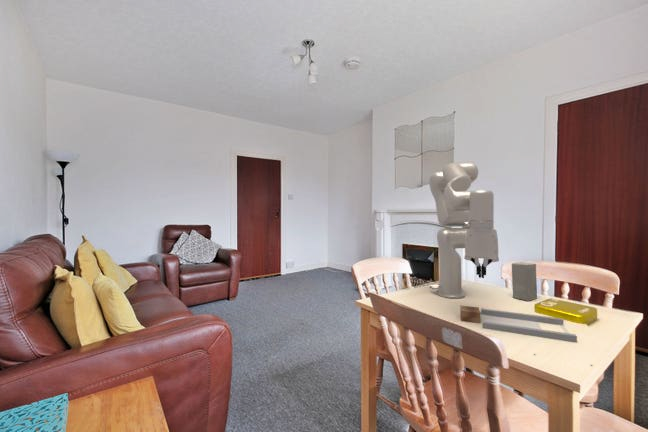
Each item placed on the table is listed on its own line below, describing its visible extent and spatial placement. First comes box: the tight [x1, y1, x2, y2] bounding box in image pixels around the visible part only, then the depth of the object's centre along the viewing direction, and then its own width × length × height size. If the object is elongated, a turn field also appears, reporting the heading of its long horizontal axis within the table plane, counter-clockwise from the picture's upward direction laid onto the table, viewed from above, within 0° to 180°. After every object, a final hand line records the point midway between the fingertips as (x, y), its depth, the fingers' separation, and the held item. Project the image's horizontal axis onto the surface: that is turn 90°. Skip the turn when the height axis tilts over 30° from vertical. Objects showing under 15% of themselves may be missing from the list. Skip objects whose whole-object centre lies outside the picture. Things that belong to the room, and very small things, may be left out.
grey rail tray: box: [480, 307, 578, 343], centre depth 95 cm, size 24×15×3 cm, turn 63°
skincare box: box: [511, 261, 538, 302], centre depth 127 cm, size 8×7×16 cm
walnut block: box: [459, 305, 482, 325], centre depth 101 cm, size 6×6×5 cm
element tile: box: [534, 297, 598, 327], centre depth 105 cm, size 15×15×5 cm
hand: (481, 277), depth 100 cm, fingers closed
